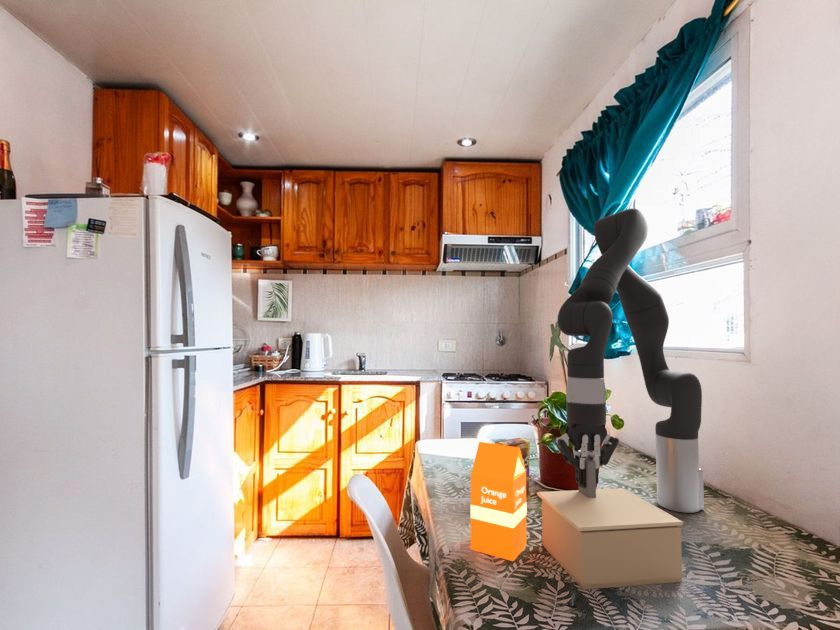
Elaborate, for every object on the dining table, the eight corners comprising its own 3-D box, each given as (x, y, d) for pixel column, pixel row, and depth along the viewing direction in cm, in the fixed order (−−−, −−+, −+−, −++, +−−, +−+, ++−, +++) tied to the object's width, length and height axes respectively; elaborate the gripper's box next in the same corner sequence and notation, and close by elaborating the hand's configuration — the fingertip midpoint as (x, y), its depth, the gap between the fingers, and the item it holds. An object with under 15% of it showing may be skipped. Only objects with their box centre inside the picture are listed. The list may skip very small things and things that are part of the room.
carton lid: (623, 491, 92) (622, 454, 92) (682, 525, 75) (681, 480, 75) (537, 495, 89) (536, 457, 90) (578, 531, 72) (578, 484, 73)
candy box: (505, 508, 106) (504, 444, 107) (492, 502, 110) (492, 441, 111) (530, 500, 111) (530, 440, 112) (518, 495, 115) (517, 436, 116)
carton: (625, 539, 90) (624, 494, 91) (682, 581, 74) (680, 527, 75) (542, 544, 88) (541, 498, 88) (582, 589, 72) (582, 533, 72)
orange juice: (513, 561, 81) (513, 451, 82) (470, 549, 85) (470, 445, 86) (527, 545, 87) (526, 443, 88) (486, 534, 92) (486, 438, 93)
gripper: (606, 396, 94) (607, 479, 93) (546, 397, 92) (546, 481, 91) (628, 401, 86) (629, 491, 85) (562, 402, 84) (563, 494, 83)
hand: (586, 486), depth 88 cm, fingers closed
